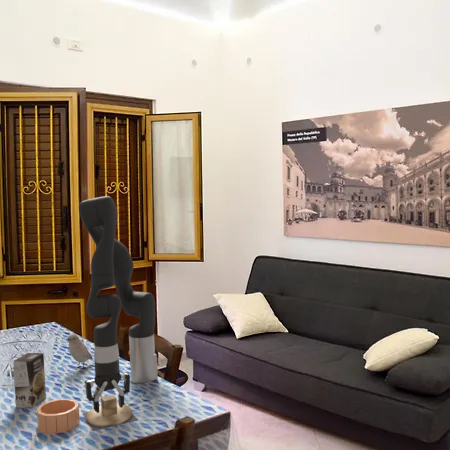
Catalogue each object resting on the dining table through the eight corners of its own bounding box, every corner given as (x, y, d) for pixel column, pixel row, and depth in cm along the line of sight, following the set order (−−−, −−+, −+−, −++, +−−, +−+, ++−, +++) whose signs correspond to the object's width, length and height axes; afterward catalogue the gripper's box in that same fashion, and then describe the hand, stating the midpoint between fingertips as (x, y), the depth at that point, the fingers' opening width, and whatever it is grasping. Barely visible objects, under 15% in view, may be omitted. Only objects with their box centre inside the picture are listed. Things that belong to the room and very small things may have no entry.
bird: (63, 372, 210) (60, 335, 209) (88, 362, 221) (86, 326, 220) (71, 374, 207) (69, 337, 206) (97, 364, 219) (95, 328, 217)
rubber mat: (124, 405, 178) (124, 403, 178) (137, 421, 165) (137, 419, 165) (82, 414, 171) (82, 413, 171) (92, 432, 159) (92, 430, 159)
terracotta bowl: (74, 413, 172) (73, 396, 172) (82, 428, 161) (81, 409, 161) (35, 422, 167) (34, 404, 166) (41, 438, 156) (40, 418, 156)
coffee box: (32, 408, 177) (29, 361, 176) (15, 407, 178) (12, 360, 177) (47, 397, 186) (44, 352, 185) (30, 396, 187) (27, 351, 186)
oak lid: (124, 403, 178) (123, 385, 177) (137, 420, 165) (137, 400, 165) (82, 413, 171) (81, 394, 171) (92, 430, 159) (91, 410, 158)
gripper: (125, 350, 173) (127, 400, 175) (80, 358, 167) (83, 410, 168) (132, 357, 167) (134, 408, 168) (86, 365, 160) (89, 419, 161)
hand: (109, 409), depth 168 cm, fingers open, 7 cm apart
